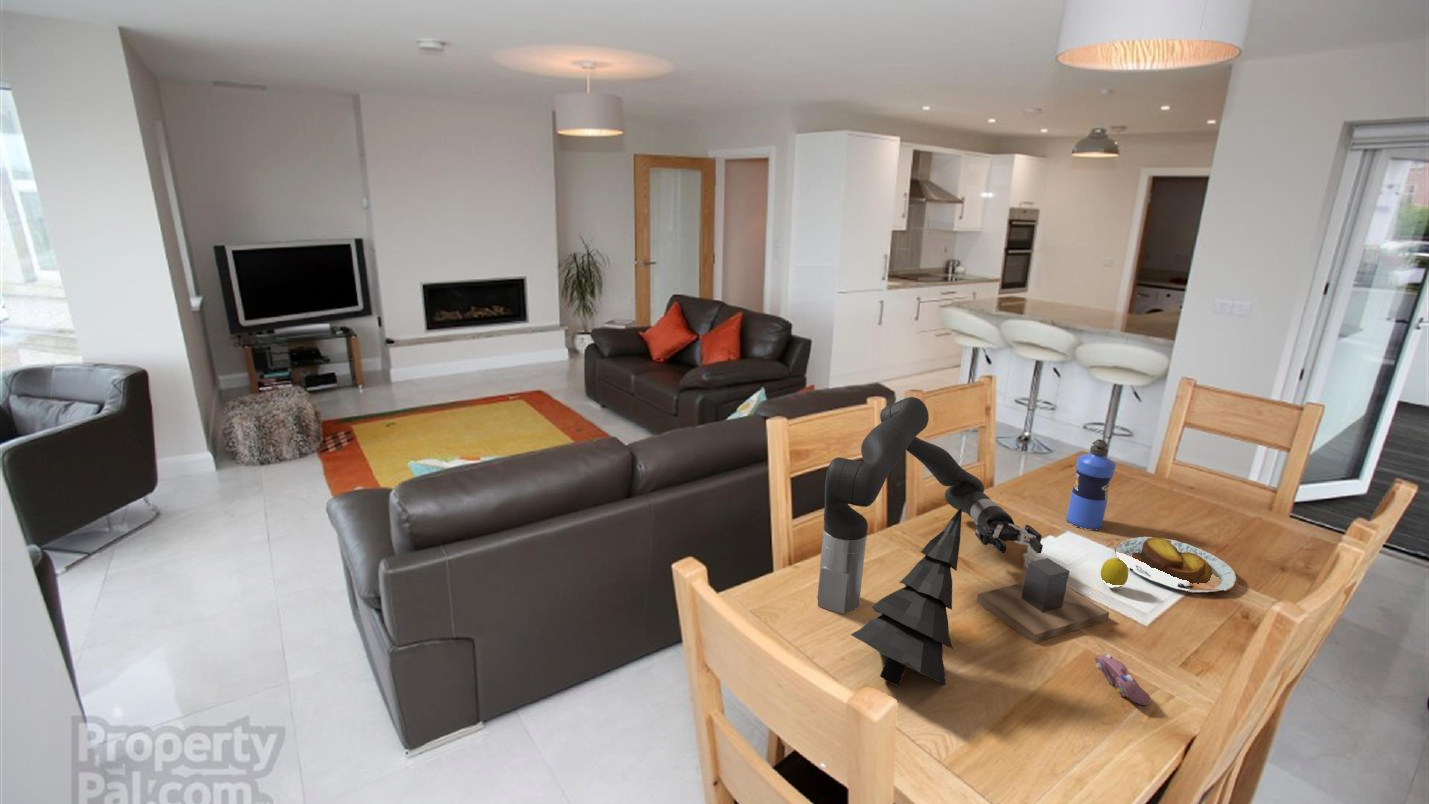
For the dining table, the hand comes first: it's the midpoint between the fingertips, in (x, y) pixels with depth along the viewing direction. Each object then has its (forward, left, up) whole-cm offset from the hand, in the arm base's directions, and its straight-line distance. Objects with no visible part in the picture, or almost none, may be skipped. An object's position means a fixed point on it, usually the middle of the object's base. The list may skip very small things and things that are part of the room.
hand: (1022, 549), depth 160 cm
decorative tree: (-44, +13, -9) cm, 47 cm away
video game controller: (-29, -22, -9) cm, 37 cm away
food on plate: (+30, -32, -10) cm, 45 cm away
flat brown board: (-9, -6, -9) cm, 14 cm away
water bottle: (+47, -11, -9) cm, 49 cm away
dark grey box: (-9, -6, -7) cm, 13 cm away
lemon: (+11, -19, -9) cm, 24 cm away
